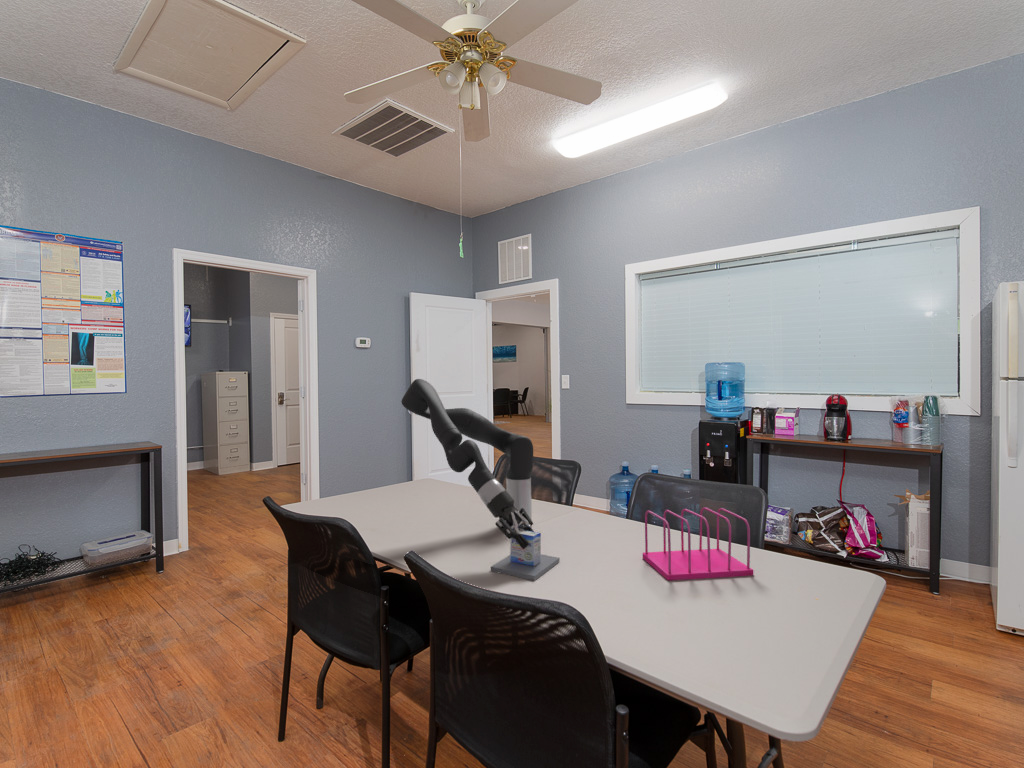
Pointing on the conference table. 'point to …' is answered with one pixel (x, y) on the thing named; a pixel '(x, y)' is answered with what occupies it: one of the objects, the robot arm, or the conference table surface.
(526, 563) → the medicine box
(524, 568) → the slate tile
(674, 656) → the conference table surface
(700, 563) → the file sorter
